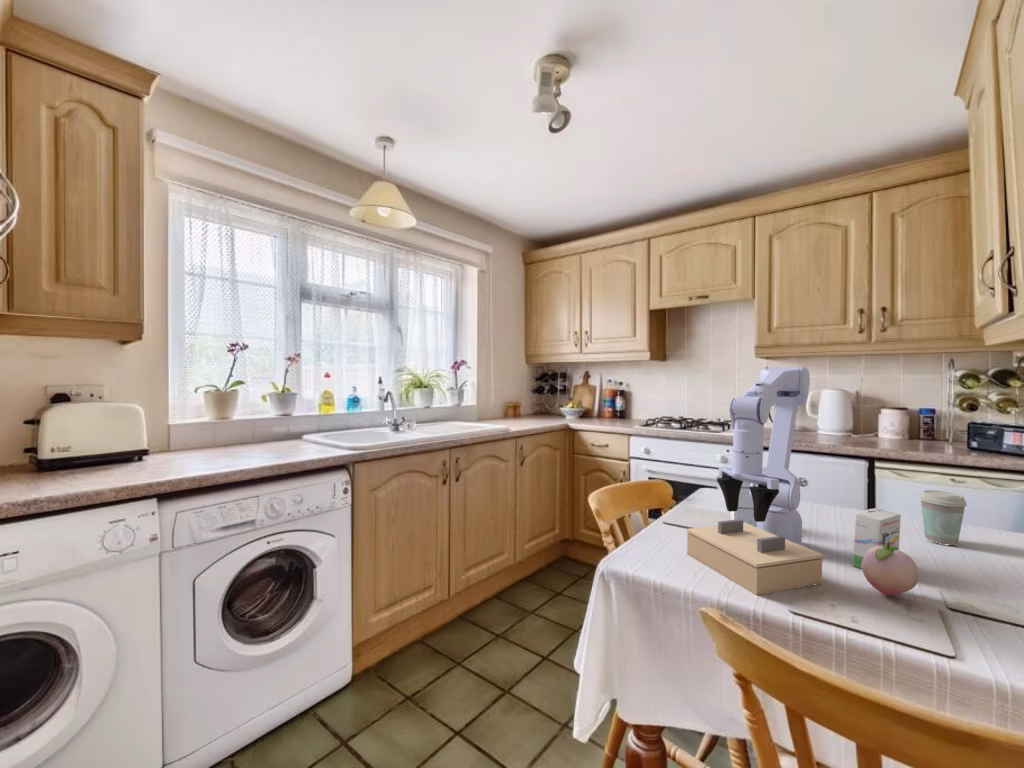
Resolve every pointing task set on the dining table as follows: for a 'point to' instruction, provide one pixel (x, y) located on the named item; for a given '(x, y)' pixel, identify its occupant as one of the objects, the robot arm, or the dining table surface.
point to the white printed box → (744, 506)
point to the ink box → (874, 531)
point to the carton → (755, 569)
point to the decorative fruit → (889, 570)
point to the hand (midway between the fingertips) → (745, 515)
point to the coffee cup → (942, 515)
